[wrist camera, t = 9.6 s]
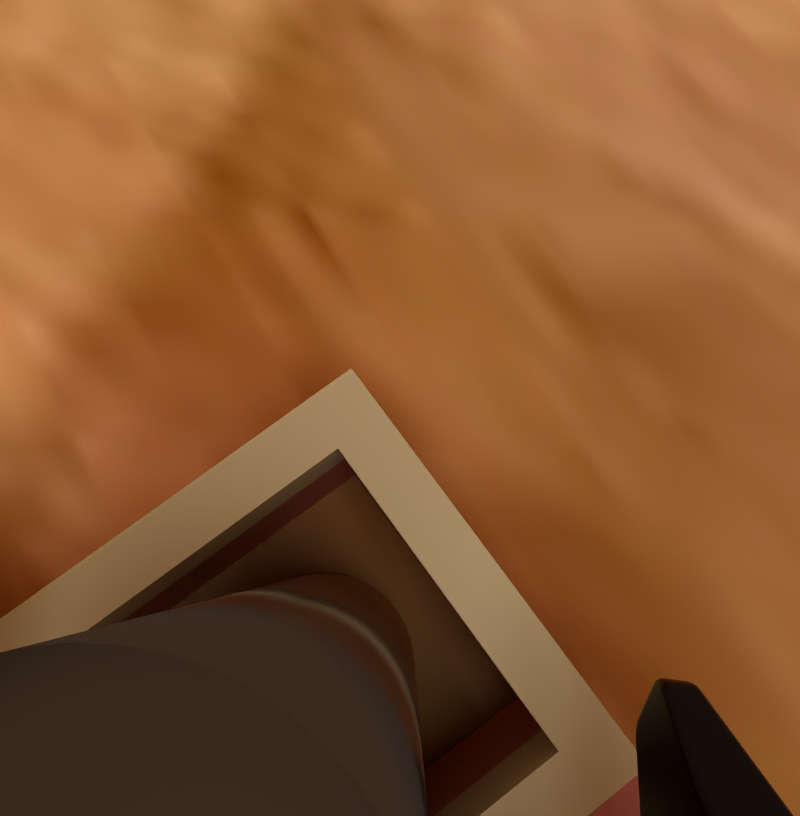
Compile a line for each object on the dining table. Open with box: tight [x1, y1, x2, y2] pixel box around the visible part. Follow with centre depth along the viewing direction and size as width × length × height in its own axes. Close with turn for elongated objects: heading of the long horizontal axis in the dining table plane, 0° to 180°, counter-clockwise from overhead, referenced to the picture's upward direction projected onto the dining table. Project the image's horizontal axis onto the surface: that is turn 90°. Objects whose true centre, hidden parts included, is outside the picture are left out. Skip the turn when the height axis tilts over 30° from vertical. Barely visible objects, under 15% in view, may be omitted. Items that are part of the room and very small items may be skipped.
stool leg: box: [0, 573, 428, 816], centre depth 10 cm, size 4×4×13 cm
